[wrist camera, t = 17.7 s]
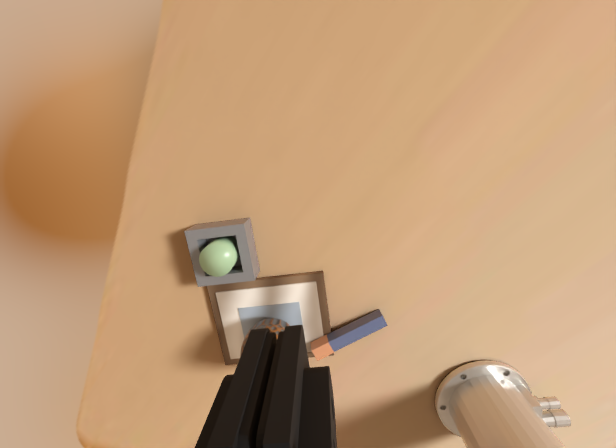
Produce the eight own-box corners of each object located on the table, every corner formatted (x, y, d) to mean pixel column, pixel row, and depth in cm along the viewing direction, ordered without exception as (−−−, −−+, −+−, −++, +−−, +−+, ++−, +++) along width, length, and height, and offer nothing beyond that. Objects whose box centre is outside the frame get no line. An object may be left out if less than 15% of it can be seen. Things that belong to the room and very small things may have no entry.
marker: (378, 308, 39) (382, 315, 37) (383, 318, 39) (387, 326, 38) (310, 342, 39) (311, 350, 38) (316, 352, 40) (317, 360, 38)
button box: (250, 217, 37) (244, 223, 34) (259, 270, 38) (254, 280, 35) (194, 224, 37) (184, 231, 34) (207, 276, 39) (197, 286, 36)
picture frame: (322, 270, 38) (323, 274, 37) (333, 351, 41) (333, 356, 40) (208, 283, 39) (205, 286, 38) (227, 361, 42) (224, 366, 41)
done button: (238, 233, 36) (229, 242, 33) (244, 262, 37) (235, 274, 34) (208, 236, 37) (195, 246, 33) (214, 265, 38) (203, 278, 34)
